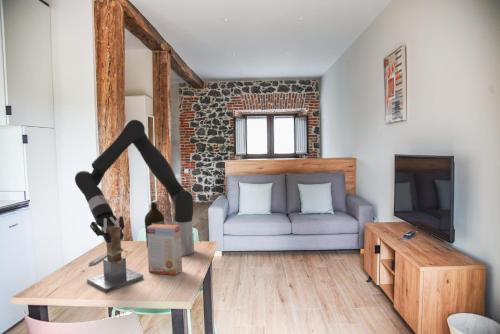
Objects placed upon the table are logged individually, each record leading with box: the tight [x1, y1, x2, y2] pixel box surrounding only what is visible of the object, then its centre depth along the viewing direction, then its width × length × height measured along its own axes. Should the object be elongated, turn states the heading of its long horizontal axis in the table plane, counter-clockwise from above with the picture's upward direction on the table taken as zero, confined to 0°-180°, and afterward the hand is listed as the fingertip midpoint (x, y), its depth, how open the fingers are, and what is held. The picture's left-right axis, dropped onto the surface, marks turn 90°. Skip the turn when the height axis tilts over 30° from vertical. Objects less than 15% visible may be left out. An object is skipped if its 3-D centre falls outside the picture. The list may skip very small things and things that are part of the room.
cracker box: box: [147, 224, 183, 276], centre depth 138 cm, size 14×6×21 cm, turn 71°
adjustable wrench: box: [88, 246, 124, 267], centre depth 160 cm, size 25×6×2 cm, turn 168°
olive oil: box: [144, 201, 165, 248], centre depth 175 cm, size 11×11×25 cm
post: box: [106, 225, 123, 261], centre depth 129 cm, size 4×4×17 cm
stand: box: [86, 255, 144, 294], centre depth 130 cm, size 16×16×10 cm
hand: (115, 240), depth 128 cm, fingers open, 4 cm apart
